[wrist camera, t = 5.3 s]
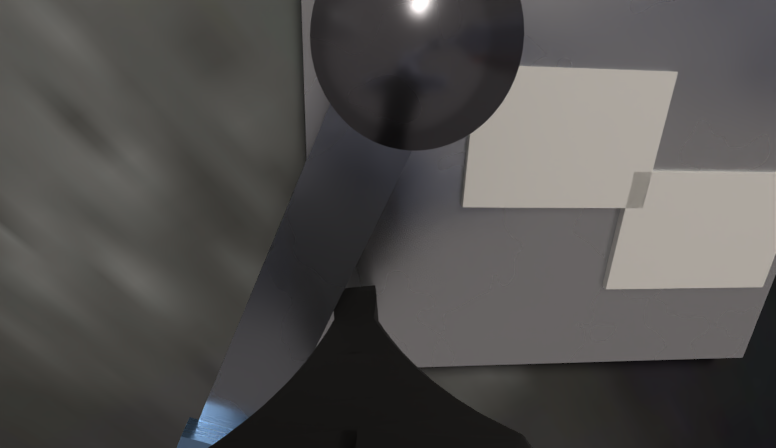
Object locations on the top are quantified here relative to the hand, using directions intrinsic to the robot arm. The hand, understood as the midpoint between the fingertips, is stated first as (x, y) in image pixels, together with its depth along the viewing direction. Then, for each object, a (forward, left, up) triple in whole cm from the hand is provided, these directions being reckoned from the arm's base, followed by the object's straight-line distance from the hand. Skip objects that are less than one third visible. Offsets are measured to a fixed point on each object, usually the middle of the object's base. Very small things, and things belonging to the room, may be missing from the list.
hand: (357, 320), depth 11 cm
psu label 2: (-10, -2, -1) cm, 10 cm away
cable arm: (+1, -2, -1) cm, 3 cm away
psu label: (-5, -5, -1) cm, 7 cm away
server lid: (-6, -4, -2) cm, 7 cm away
